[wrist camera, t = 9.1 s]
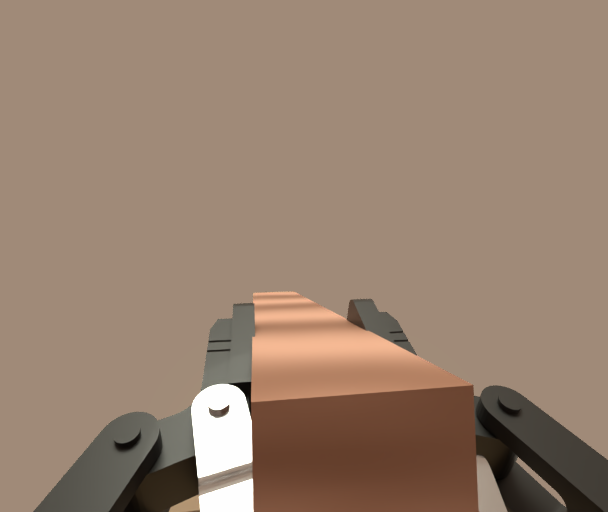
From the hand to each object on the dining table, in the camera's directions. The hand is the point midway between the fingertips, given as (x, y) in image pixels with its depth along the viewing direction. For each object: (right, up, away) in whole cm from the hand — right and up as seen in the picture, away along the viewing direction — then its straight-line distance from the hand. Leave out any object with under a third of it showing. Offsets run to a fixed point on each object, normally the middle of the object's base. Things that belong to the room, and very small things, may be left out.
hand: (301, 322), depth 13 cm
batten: (-1, -3, +5) cm, 6 cm away
